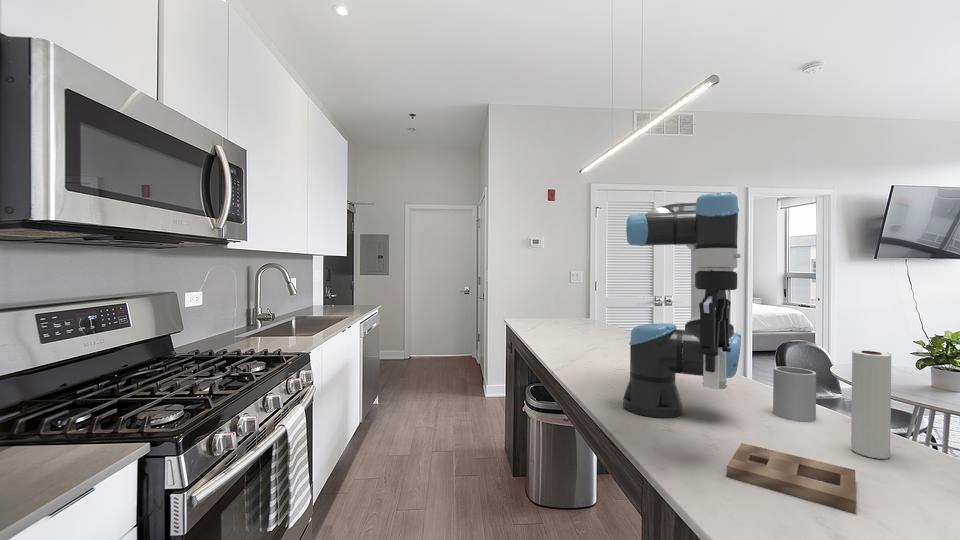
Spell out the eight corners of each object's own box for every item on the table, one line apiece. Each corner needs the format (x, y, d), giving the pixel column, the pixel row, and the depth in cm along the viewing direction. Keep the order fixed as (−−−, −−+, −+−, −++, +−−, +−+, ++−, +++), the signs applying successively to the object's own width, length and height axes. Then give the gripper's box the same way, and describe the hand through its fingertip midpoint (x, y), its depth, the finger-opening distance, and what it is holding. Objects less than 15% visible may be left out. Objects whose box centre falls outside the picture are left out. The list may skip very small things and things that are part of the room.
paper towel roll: (859, 457, 88) (860, 353, 88) (845, 445, 94) (846, 348, 94) (903, 462, 86) (905, 356, 86) (887, 450, 91) (888, 351, 91)
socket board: (726, 476, 79) (726, 465, 79) (741, 452, 90) (741, 442, 90) (855, 513, 68) (856, 500, 68) (855, 480, 78) (855, 469, 78)
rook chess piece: (730, 390, 84) (730, 349, 84) (705, 388, 85) (705, 348, 85) (723, 384, 88) (723, 346, 88) (699, 383, 89) (699, 344, 89)
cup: (818, 424, 107) (818, 376, 107) (774, 417, 112) (774, 371, 112) (813, 414, 115) (813, 369, 115) (772, 408, 119) (772, 365, 119)
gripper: (725, 269, 78) (724, 398, 78) (746, 271, 91) (745, 381, 90) (681, 269, 83) (680, 389, 83) (708, 270, 96) (707, 375, 96)
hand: (714, 385), depth 87 cm, fingers closed on rook chess piece, 4 cm apart
